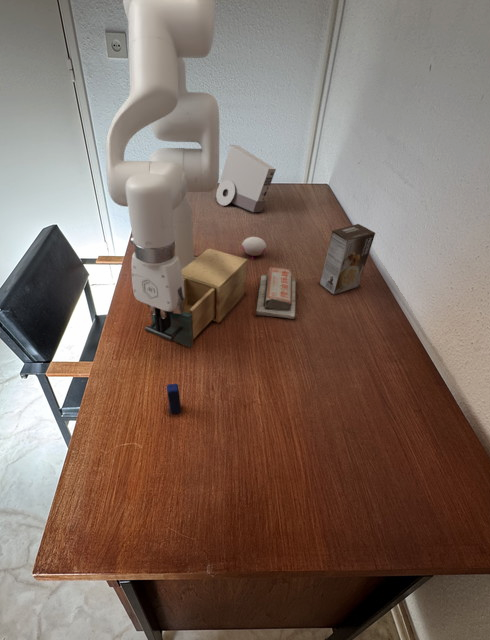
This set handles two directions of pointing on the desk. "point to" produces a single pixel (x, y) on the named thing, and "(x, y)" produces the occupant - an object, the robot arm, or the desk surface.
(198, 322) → the drawer
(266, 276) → the packaged product
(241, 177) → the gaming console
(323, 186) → the desk surface
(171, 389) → the eraser
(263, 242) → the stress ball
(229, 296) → the cabinet
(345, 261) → the coffee box
